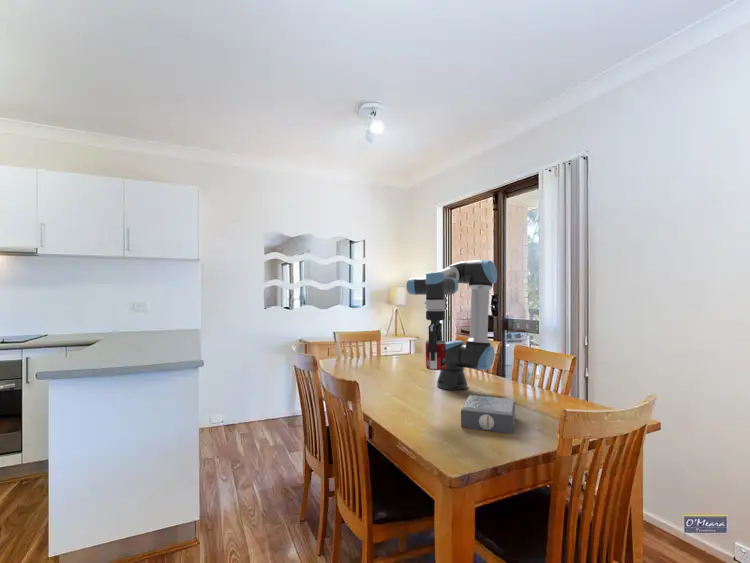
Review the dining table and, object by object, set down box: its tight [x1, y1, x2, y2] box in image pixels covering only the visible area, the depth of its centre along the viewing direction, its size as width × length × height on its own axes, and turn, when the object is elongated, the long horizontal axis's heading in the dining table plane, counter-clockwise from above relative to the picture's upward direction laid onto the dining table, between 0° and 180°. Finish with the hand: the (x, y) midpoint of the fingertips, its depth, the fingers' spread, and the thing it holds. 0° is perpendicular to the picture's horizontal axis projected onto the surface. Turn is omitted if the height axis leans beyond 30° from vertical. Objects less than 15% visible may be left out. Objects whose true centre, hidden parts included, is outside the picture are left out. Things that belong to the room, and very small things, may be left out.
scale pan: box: [461, 394, 515, 416], centre depth 148 cm, size 17×17×1 cm
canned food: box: [425, 339, 446, 371], centre depth 159 cm, size 8×8×11 cm
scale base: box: [460, 401, 516, 435], centre depth 147 cm, size 19×18×6 cm
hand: (435, 366), depth 159 cm, fingers closed on canned food, 8 cm apart
